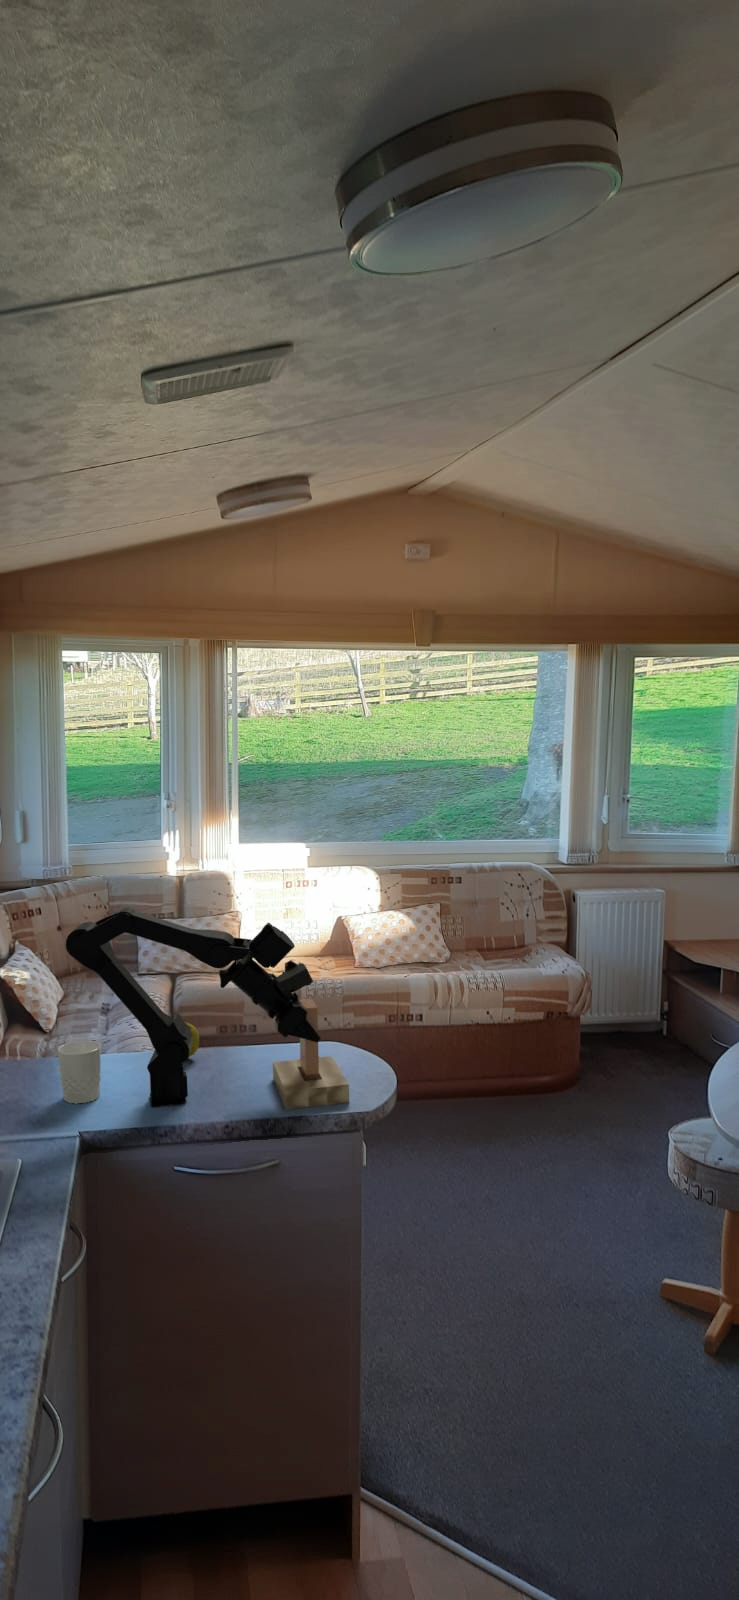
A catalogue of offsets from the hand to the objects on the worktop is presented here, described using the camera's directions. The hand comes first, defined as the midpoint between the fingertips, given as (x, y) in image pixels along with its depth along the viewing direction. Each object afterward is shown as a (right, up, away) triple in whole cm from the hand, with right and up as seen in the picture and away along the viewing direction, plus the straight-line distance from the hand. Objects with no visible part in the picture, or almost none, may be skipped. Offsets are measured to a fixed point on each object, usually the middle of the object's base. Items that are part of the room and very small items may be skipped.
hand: (315, 1035), depth 200 cm
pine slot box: (-1, -11, +1) cm, 11 cm away
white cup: (-45, -12, -1) cm, 47 cm away
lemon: (-28, -10, +20) cm, 36 cm away
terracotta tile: (-1, -7, 0) cm, 7 cm away
